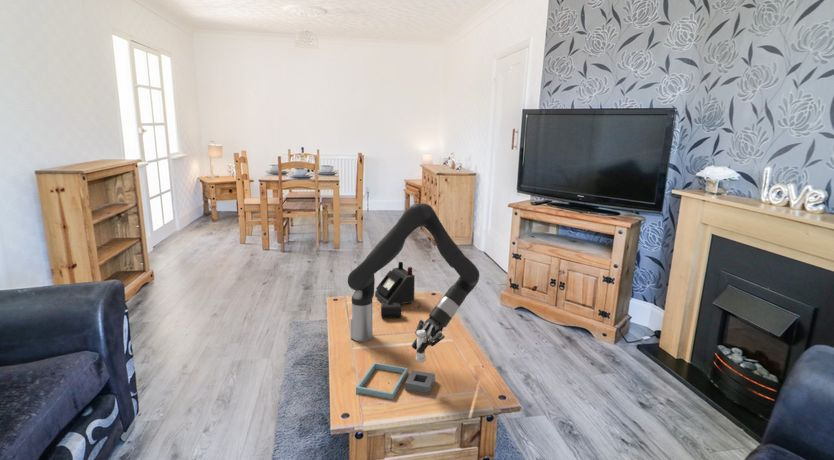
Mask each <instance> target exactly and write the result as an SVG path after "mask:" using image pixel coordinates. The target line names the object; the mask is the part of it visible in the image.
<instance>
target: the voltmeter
mask: <svg viewBox="0 0 834 460" xmlns="http://www.w3.org/2000/svg"><path fill="white" fill-rule="evenodd" d="M415 281H416V280H415V274H413V268H412V266H410V267H407V269H405V268H404V262H402V261H399V262H398V266H397V267H393V268H392V270H389V271H388V272H387V273H386V275H385V276H384V277H383V279H382V280H381V281H380V283H379V284H378V285H377V286H376V288H375V291H374V297H375V298H377V300H378V301H380V302H381V304H382V303H387V304H388V305H393V303H399V305H403V304H411V303H413V302H415Z"/></svg>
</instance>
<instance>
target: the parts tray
mask: <svg viewBox="0 0 834 460" xmlns="http://www.w3.org/2000/svg"><path fill="white" fill-rule="evenodd" d="M375 370H381V371H387V372H393V373H399V374H401V375H400V376H399V379H398V381H397V382H396V384H395V386H394V388H393V389H392V390H391V392H390V391H384V390H380V389H379V390H378V389H375V388H374V389H373V388H368V387H364V386H365V384H366V383H367V382H368V380H369V379H370V377H371V376H372V375H373V374H374V371H375ZM408 372H409V368H408V367H403V366H398V365H392V364H386V363H385V364H384V363H378V362H373V363H372V364H371V366H370V368H369V369H368V370H367V371H366V373H365V374H364V376H363V377H362V378H361V380H359V382H358V384H357V385H356V386H355V395H356V396H358V394H363V395H367V396H371V397H377V398H384V399H389V400H394V398H395V397H396V394H397V393H398V391H399V389H400V388H401V385H402V384H403V382H404V381H405V379H406V377H407V375H408Z"/></svg>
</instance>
